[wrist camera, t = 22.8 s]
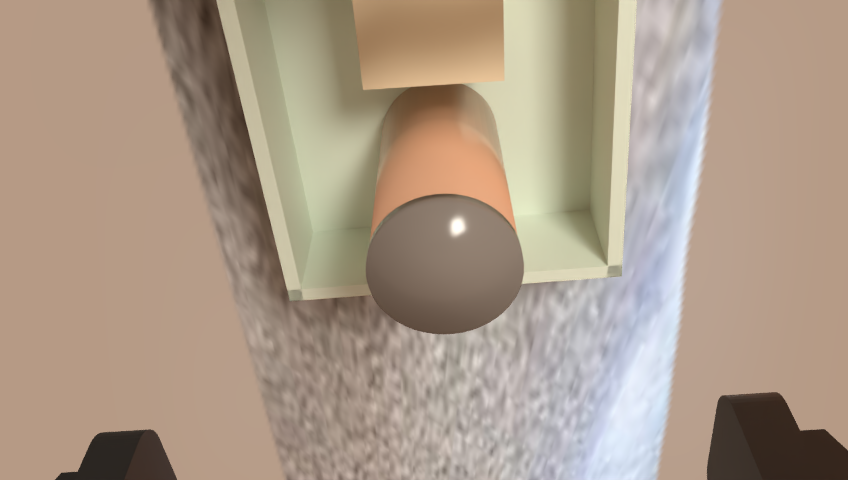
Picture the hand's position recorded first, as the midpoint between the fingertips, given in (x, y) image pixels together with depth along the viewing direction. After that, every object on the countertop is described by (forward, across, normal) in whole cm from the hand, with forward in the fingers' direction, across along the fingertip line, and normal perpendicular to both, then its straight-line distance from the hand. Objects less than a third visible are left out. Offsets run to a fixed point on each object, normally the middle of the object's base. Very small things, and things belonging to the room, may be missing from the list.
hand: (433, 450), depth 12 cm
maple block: (+24, 0, 0) cm, 24 cm away
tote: (+24, 0, +4) cm, 24 cm away
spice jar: (+23, 0, +7) cm, 24 cm away
